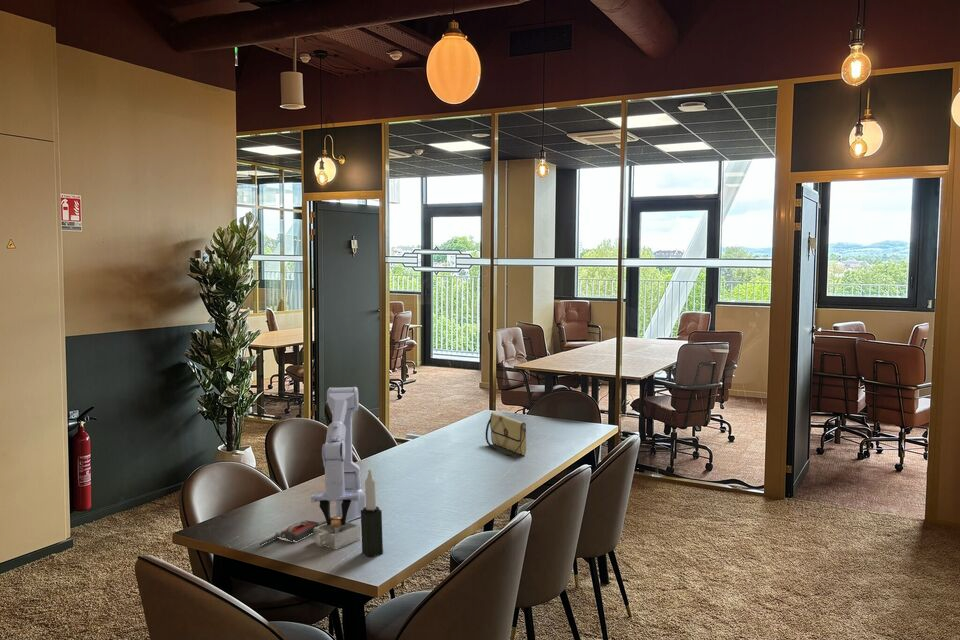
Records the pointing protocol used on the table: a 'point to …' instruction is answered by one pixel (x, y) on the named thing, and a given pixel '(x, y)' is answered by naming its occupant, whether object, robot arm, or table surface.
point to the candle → (371, 521)
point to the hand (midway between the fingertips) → (336, 524)
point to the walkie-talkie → (295, 531)
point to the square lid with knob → (336, 522)
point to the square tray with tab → (336, 535)
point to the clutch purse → (507, 433)
